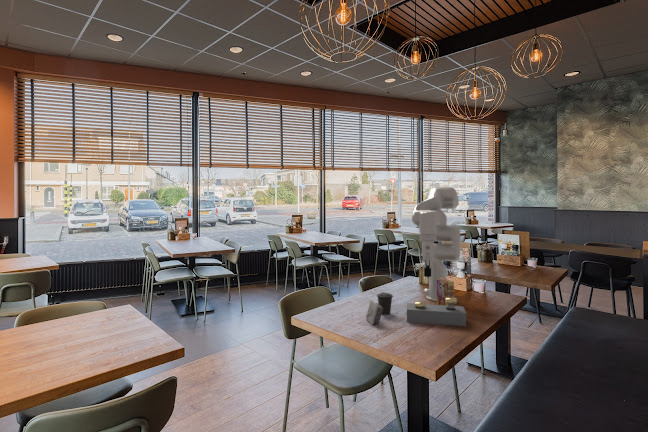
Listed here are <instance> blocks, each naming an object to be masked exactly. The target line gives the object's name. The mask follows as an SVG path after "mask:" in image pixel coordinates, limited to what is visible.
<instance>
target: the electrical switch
mask: <svg viewBox="0 0 648 432" xmlns="http://www.w3.org/2000/svg"><path fill="white" fill-rule="evenodd" d="M382 311H383V308H382V307H381V306H380V305H379V304H378V303H377V302H375V301H374V300H370V302H369V305H368V308H367V311H366V316H365V320H367V321H368V322H369V324H370V325H372V326H373V325H374V324H375V325H376V324H377V325H379V324H380V322H381V318H382Z"/></svg>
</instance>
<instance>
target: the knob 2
mask: <svg viewBox="0 0 648 432" xmlns="http://www.w3.org/2000/svg"><path fill="white" fill-rule="evenodd" d="M457 299H458V298H457V297H455V296H454V297H446V298H445V302H446V303H448V310H454V306H455V305H456V304H458V303H457V301H458V300H457Z"/></svg>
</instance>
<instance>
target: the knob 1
mask: <svg viewBox="0 0 648 432" xmlns="http://www.w3.org/2000/svg"><path fill="white" fill-rule="evenodd" d="M414 304H415V307H416V308H425V304H426V302H425V301H422V300H417V301H414Z"/></svg>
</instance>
